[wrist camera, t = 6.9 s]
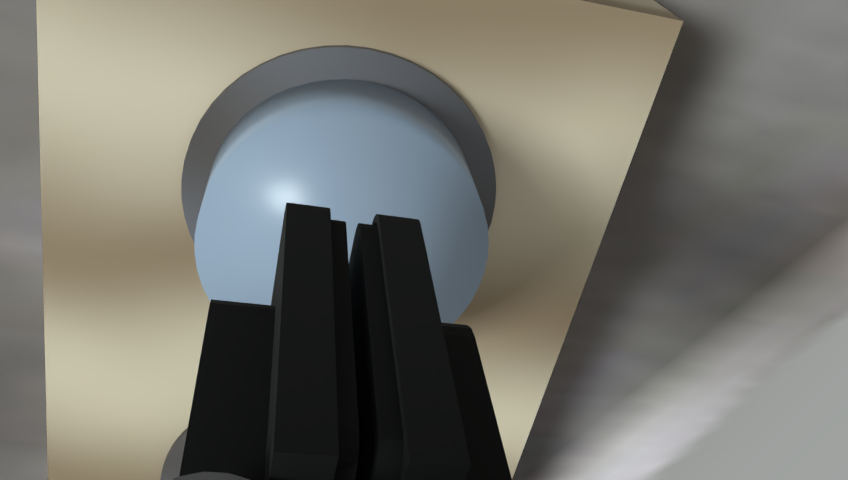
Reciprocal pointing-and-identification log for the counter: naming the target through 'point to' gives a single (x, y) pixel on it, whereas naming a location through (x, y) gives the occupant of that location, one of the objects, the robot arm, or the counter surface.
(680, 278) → the counter surface
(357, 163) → the slate button
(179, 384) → the button panel
